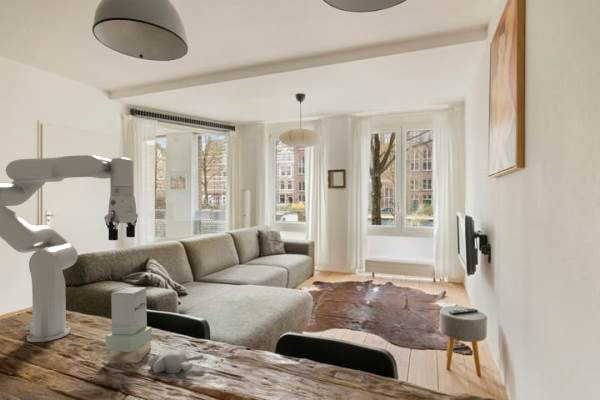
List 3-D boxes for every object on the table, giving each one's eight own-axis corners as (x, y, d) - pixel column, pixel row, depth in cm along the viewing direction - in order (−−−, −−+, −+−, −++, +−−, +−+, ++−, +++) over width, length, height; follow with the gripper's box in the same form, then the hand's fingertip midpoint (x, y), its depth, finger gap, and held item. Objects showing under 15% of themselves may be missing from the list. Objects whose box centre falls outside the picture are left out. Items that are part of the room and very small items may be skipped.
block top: (105, 348, 101) (105, 335, 101) (128, 336, 110) (128, 324, 110) (129, 352, 98) (129, 338, 98) (151, 340, 107) (151, 327, 107)
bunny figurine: (163, 345, 103) (205, 345, 98) (165, 362, 102) (207, 363, 98) (140, 359, 94) (185, 360, 89) (142, 378, 93) (187, 379, 89)
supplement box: (133, 335, 101) (132, 293, 101) (111, 334, 102) (110, 292, 102) (147, 326, 108) (147, 286, 108) (126, 325, 109) (125, 286, 109)
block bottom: (107, 364, 100) (107, 350, 100) (122, 350, 109) (122, 338, 109) (138, 363, 100) (138, 349, 100) (150, 349, 109) (150, 337, 109)
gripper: (115, 191, 114) (115, 241, 114) (145, 192, 131) (145, 236, 131) (95, 191, 115) (95, 241, 115) (127, 192, 132) (127, 236, 132)
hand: (122, 238), depth 123 cm, fingers open, 9 cm apart
